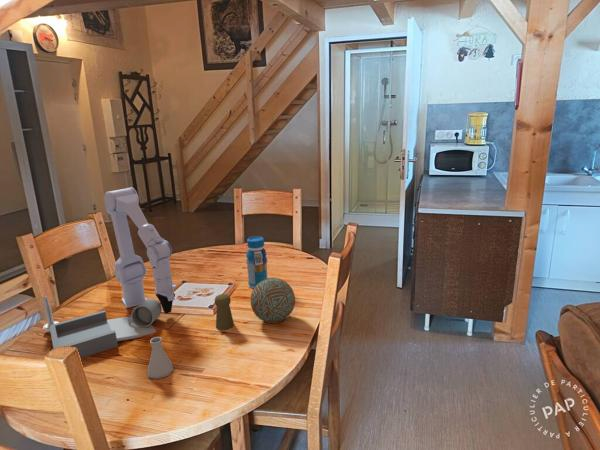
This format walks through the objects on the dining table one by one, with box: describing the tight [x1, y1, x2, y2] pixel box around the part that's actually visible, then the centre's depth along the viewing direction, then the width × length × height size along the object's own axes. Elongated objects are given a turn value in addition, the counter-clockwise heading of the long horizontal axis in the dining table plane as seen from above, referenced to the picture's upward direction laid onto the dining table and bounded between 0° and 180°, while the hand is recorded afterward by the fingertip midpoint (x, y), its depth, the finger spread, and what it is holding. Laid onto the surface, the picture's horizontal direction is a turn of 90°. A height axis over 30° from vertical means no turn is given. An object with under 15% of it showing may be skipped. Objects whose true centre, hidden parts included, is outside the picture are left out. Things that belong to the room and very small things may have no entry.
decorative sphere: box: [250, 277, 296, 324], centre depth 137 cm, size 15×15×15 cm
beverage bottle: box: [245, 235, 269, 289], centre depth 165 cm, size 8×8×20 cm
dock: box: [49, 310, 157, 359], centre depth 132 cm, size 18×29×6 cm, turn 125°
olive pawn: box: [214, 293, 235, 331], centre depth 135 cm, size 6×6×11 cm
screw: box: [42, 295, 60, 334], centre depth 135 cm, size 13×5×5 cm
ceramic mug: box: [126, 298, 163, 327], centre depth 139 cm, size 11×8×8 cm
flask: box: [146, 336, 174, 380], centre depth 112 cm, size 7×7×10 cm
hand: (167, 312), depth 143 cm, fingers closed
